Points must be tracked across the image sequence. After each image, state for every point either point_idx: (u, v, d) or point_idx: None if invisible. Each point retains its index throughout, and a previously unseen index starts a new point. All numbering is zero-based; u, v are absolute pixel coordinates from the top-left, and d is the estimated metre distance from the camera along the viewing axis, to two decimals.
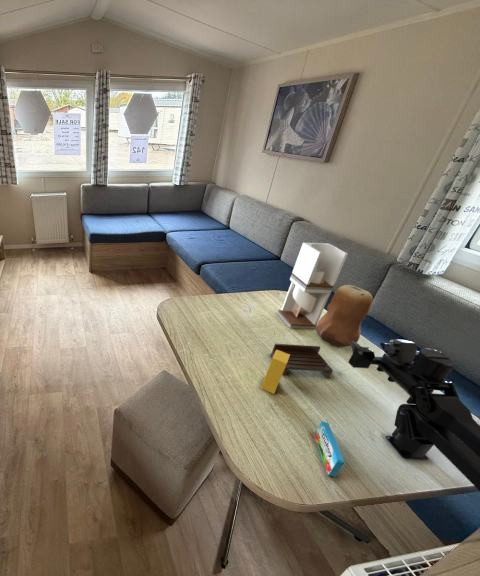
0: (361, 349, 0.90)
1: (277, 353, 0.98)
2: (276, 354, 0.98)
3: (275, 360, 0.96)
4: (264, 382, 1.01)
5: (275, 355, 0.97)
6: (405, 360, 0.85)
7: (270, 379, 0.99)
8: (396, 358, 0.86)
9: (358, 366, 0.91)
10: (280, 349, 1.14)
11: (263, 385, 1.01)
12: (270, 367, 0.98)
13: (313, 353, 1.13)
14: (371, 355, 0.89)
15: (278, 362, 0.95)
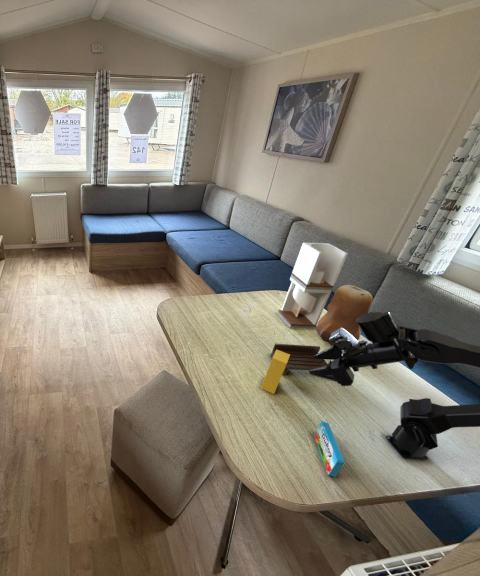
0: (334, 364, 0.81)
1: (277, 353, 0.98)
2: (276, 354, 0.98)
3: (275, 360, 0.96)
4: (264, 382, 1.01)
5: (275, 355, 0.97)
6: (356, 343, 0.83)
7: (270, 379, 0.99)
8: (354, 347, 0.82)
9: (352, 379, 0.79)
10: (280, 349, 1.14)
11: (263, 385, 1.01)
12: (270, 367, 0.98)
13: (313, 353, 1.13)
14: (343, 361, 0.81)
15: (278, 362, 0.95)
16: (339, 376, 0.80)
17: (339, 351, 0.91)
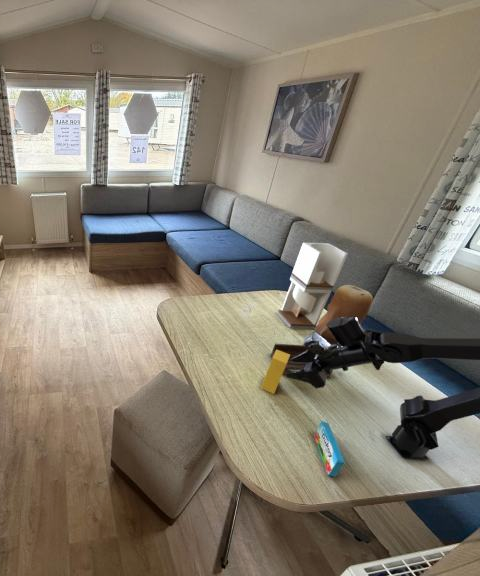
0: (307, 367, 0.85)
1: (277, 353, 0.98)
2: (276, 354, 0.98)
3: (275, 360, 0.96)
4: (264, 382, 1.01)
5: (275, 355, 0.97)
6: (328, 347, 0.87)
7: (270, 379, 0.99)
8: (325, 350, 0.86)
9: (324, 382, 0.83)
10: (280, 349, 1.14)
11: (263, 385, 1.01)
12: (270, 367, 0.98)
13: None
14: (316, 365, 0.85)
15: (278, 362, 0.95)
16: (312, 379, 0.84)
17: (314, 354, 0.95)
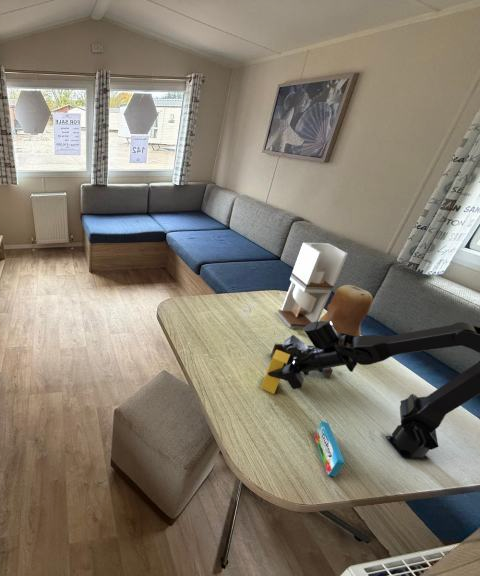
0: (285, 369, 0.89)
1: (277, 353, 0.98)
2: (276, 354, 0.98)
3: (275, 360, 0.96)
4: (264, 382, 1.01)
5: (275, 355, 0.97)
6: (306, 349, 0.92)
7: (270, 379, 0.99)
8: (303, 353, 0.90)
9: (301, 383, 0.88)
10: (280, 349, 1.14)
11: (263, 385, 1.01)
12: (270, 367, 0.98)
13: None
14: (293, 367, 0.89)
15: (278, 362, 0.95)
16: (290, 380, 0.88)
17: (293, 359, 0.98)
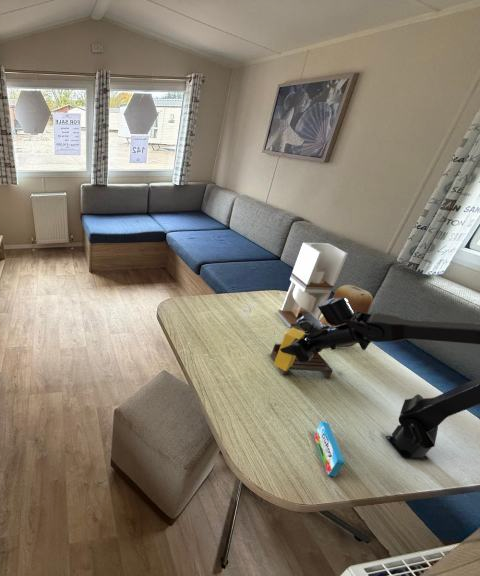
0: (294, 342, 0.91)
1: (291, 330, 0.99)
2: (290, 331, 0.98)
3: (288, 336, 0.97)
4: (276, 358, 1.02)
5: (289, 331, 0.98)
6: (320, 326, 0.92)
7: (282, 356, 1.00)
8: (315, 329, 0.91)
9: (309, 356, 0.88)
10: None
11: (275, 362, 1.03)
12: (283, 343, 0.99)
13: (313, 353, 1.13)
14: (303, 341, 0.90)
15: (290, 338, 0.96)
16: (297, 353, 0.90)
17: None
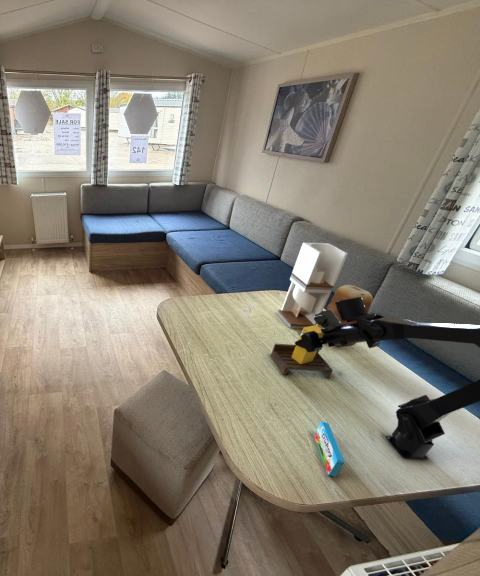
0: None
1: (312, 327, 1.06)
2: (310, 327, 1.05)
3: (305, 330, 1.05)
4: (294, 351, 1.10)
5: (308, 327, 1.05)
6: (336, 323, 0.97)
7: (299, 349, 1.08)
8: (330, 324, 0.97)
9: (315, 347, 0.96)
10: (280, 349, 1.14)
11: (293, 354, 1.10)
12: (300, 337, 1.06)
13: None
14: (314, 333, 0.98)
15: None
16: (305, 342, 0.98)
17: None
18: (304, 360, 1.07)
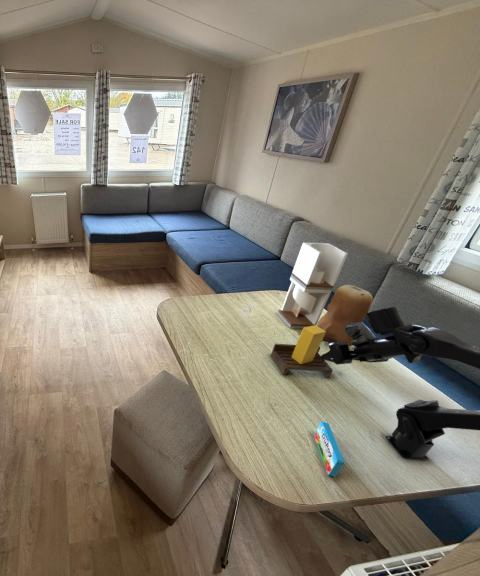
0: (333, 343, 0.91)
1: (312, 327, 1.06)
2: (310, 327, 1.05)
3: (305, 330, 1.05)
4: (294, 351, 1.10)
5: (308, 327, 1.05)
6: (369, 336, 0.89)
7: (299, 349, 1.08)
8: (362, 336, 0.89)
9: (344, 358, 0.88)
10: (280, 349, 1.14)
11: (293, 354, 1.10)
12: (300, 337, 1.06)
13: None
14: (344, 344, 0.90)
15: (307, 332, 1.04)
16: (333, 353, 0.90)
17: None
18: (304, 360, 1.07)
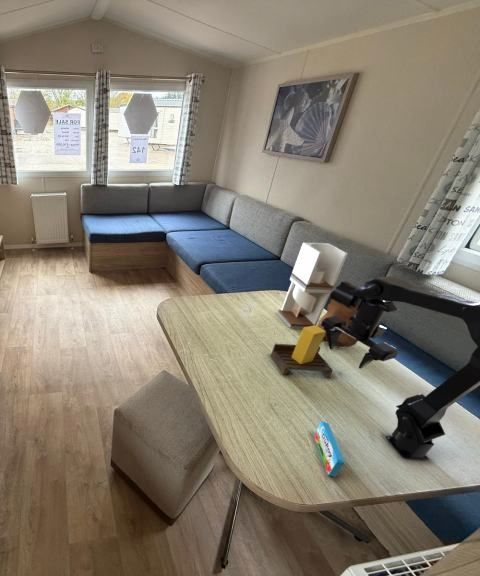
0: None
1: (312, 327, 1.06)
2: (310, 327, 1.05)
3: (305, 330, 1.05)
4: (294, 351, 1.10)
5: (308, 327, 1.05)
6: None
7: (299, 349, 1.08)
8: None
9: (327, 318, 0.98)
10: (280, 349, 1.14)
11: (293, 354, 1.10)
12: (300, 337, 1.06)
13: None
14: None
15: (307, 332, 1.04)
16: None
17: None
18: (304, 360, 1.07)
